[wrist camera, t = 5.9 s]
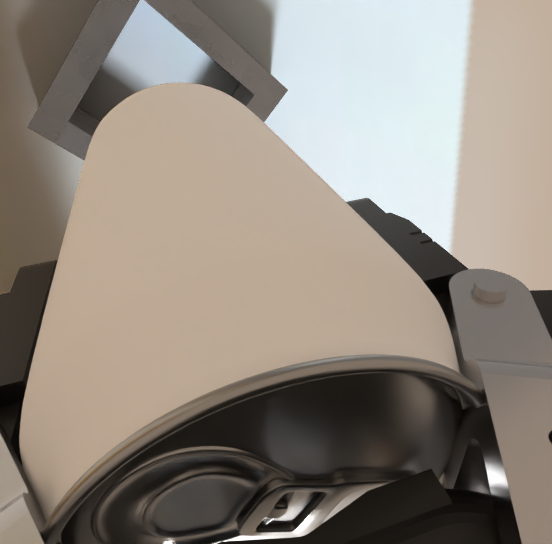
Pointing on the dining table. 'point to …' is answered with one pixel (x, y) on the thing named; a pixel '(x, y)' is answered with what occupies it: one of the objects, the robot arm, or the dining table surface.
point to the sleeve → (98, 42)
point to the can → (225, 341)
